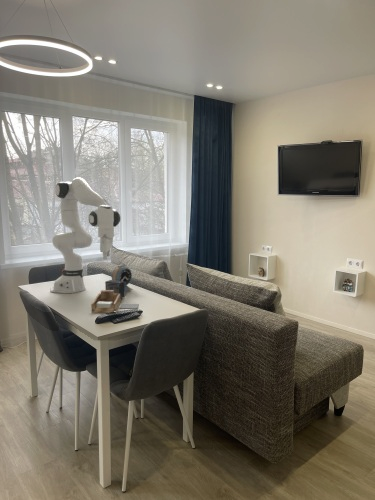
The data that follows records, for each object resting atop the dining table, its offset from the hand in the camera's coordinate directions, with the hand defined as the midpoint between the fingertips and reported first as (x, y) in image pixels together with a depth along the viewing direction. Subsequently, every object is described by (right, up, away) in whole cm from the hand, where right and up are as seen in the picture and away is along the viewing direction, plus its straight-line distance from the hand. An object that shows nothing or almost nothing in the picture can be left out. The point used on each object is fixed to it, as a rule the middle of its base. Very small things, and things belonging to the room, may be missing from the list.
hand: (106, 257), depth 211 cm
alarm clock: (+2, -23, +38) cm, 45 cm away
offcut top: (0, -28, -5) cm, 28 cm away
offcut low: (0, -30, -4) cm, 30 cm away
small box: (+1, -26, +21) cm, 33 cm away
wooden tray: (0, -29, +2) cm, 28 cm away
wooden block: (0, -28, +4) cm, 29 cm away
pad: (+13, -29, +3) cm, 31 cm away
